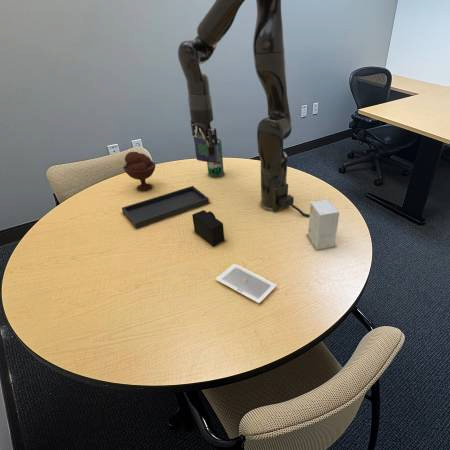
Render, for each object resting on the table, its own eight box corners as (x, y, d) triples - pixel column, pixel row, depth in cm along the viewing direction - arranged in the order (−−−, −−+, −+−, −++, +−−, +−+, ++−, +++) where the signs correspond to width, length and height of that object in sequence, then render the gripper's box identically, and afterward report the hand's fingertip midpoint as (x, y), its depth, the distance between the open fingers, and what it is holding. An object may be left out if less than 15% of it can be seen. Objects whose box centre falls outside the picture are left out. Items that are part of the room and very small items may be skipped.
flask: (221, 160, 125) (217, 132, 119) (217, 163, 122) (214, 135, 116) (198, 157, 127) (194, 129, 120) (194, 160, 124) (190, 132, 118)
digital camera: (228, 239, 106) (226, 221, 102) (213, 247, 103) (211, 228, 99) (209, 225, 112) (206, 208, 108) (194, 232, 109) (192, 214, 105)
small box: (335, 246, 106) (340, 212, 99) (316, 250, 104) (320, 215, 97) (324, 232, 113) (328, 198, 105) (307, 235, 111) (310, 201, 103)
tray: (209, 203, 124) (208, 198, 122) (136, 229, 108) (135, 223, 107) (193, 190, 131) (192, 185, 129) (123, 213, 115) (121, 207, 114)
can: (205, 175, 141) (202, 141, 133) (214, 170, 146) (210, 136, 138) (218, 178, 140) (215, 144, 131) (226, 173, 144) (223, 139, 136)
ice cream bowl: (150, 196, 125) (141, 159, 117) (123, 192, 127) (112, 155, 118) (165, 183, 134) (158, 148, 125) (139, 179, 135) (131, 144, 127)
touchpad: (234, 266, 96) (234, 260, 95) (277, 287, 90) (277, 282, 89) (215, 281, 91) (214, 276, 90) (259, 306, 85) (259, 300, 83)
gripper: (221, 109, 112) (225, 156, 121) (200, 100, 120) (205, 144, 129) (201, 113, 107) (206, 161, 117) (180, 103, 116) (187, 148, 125)
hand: (206, 152), depth 123 cm, fingers closed on flask, 7 cm apart
